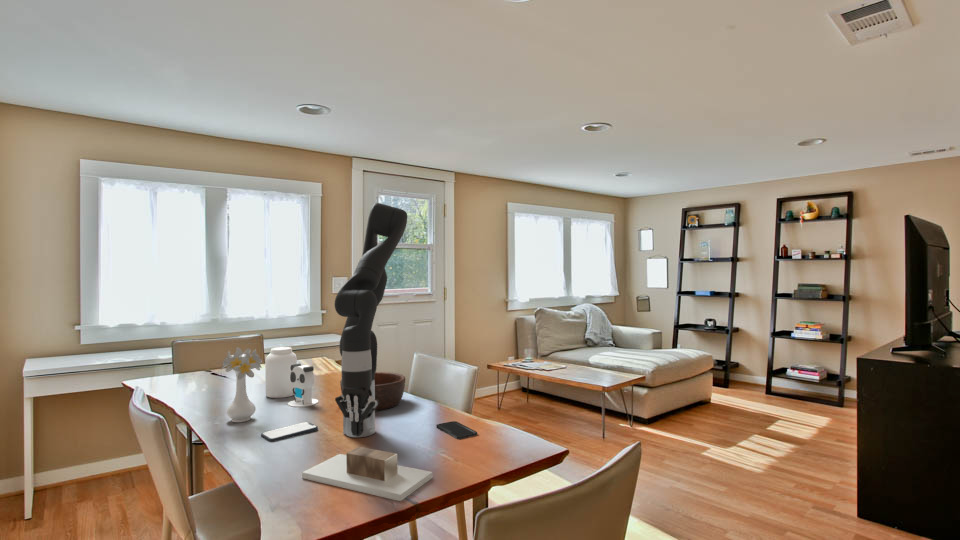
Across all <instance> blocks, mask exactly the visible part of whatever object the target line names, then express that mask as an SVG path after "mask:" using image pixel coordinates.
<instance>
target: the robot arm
mask: <svg viewBox="0 0 960 540" xmlns="http://www.w3.org/2000/svg"><path fill="white" fill-rule="evenodd" d="M369 211H370V212H369V213H368V214H369V215H368V219H367V224H366V231H365V237H364V244H363V249H362V254H361V257H360V258H359V261H358V263H357V265H356V267H355V270H354V273H353V275H352V276H351V277H349V279H348V280H346V282H345V283H344V285H342V287H341V288H340V290H338V292H337V294H336V296H335V298H334V310H335V312H336V313H337V314H338V316H340V317H344V318H346V320H345V323H344V327H343V330H342V333H341V336H340V340H339V353H340V357H341V379H342V387H344V388H343V390H342V392H341V394H340V395H339V396H337V397H335V399H334V401H335V402H336V404H337V406H338V408H339V409H340V411H341V413H342V422H343V423H342V426H343V427H342V430H343V432H342V433H343V435H345V436H347V437H350V438H365V437H366V438H367V437H370V436H373V435H374V434H375V433H376V411H375V409H376V407H377V406H378V404H379V400H375V372H376V371H377V366H378V364H377V360H378V359H377V358H378V340H377V336H376V334H375V332H374V331H373V330H372V329H373V323H374V319H375V315H376V311H377V308H378V306H379V305H380V303H381V302H382V300H383V299H384V298H383V297H384V296H385V295H384V294H385V291H386V287H387V282H388V275H387V270H386V266H387V265H388V261H390V258H391V256H393V253H394V252H395V250H396V248H397V246H398V245H399V244H400V242H401V239H402V237H403V235H404V234H405V231H406V228H407V223H408V213H407V211H406V210H404V209H402V208H400V207H399V208H398V207H396V206H395V207H394V206H392V205H388V204H385V203H380V202H376V203H374V204H373V205H372V207H371V208H370V210H369ZM378 236H381V237H385V238H386V239H384V240H383V241H381V243H379V244H378Z"/></svg>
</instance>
